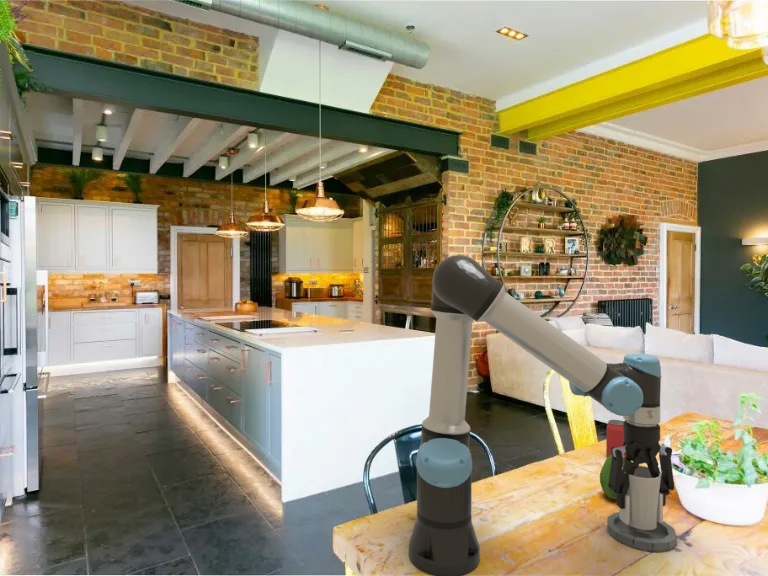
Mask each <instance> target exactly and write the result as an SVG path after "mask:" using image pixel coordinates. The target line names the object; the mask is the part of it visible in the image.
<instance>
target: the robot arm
mask: <svg viewBox="0 0 768 576" xmlns="http://www.w3.org/2000/svg"><path fill="white" fill-rule="evenodd" d="M431 282H432V290H431V292H432V293H431V301H430V302H431V304H430V312H431V313H432V314H433V316H434V317H435V319H436V321H435V331H434V332H435V334H434V347H433V358H432V359H433V360H432V361H433V362H432V373H431V374H432V375H431V385H430V399H429V412H428V417H426V418H425V419H424V420H423V421H422V423H421V432H420V435H421V436H420V444H419V447H418V449H417V453H416V459H415V467H416V521H415V522H414V526H413V529H412V532H411V536H410V539H409V542H408V557H409V560H410V561H411V562H412V564H413V565H414V566H415V567H416V568H418V569H419V570H421V571H423V572H425V573H428V574H431V575H435V576H461V575H464V574H468V573H470V572H472V571H473V570H475V569H476V567H478V565H479V563H480V560H481V556H480V555H481V548H480V544H479V541H478V537H477V534H476V531H475V528H474V524H473V520H472V471H473V460H472V453H471V451H470V439H471V438H470V437H471V426H470V425H469V424H468V422H467V421H466V419H465V418H466V407H467V406H466V405H467V397H468V396H467V394H468V384H469V383H468V382H469V372H470V371H469V370H470V359H471V358H470V357H471V355H470V354H471V346H472V345H471V344H472V333H473V331H472V330H473V322H474V321H475V322H476V323H479V322H485V323H486V324H488V325H489V326H490V327H491V328H493V329H495V330H496V331H498V332H499V333H500V334H502V335H503V336H505V337H506V338H507V339H509V340H510V341H512V343H515V344H516V345H517V346H519V347H520V348H521V349H523V350H524V351H526V352H527V353H528V354H530V355H531V356H533V357H534V358H536V359H537V360H539V361H540V362H541V363H542V364H544V365H545V366H547V367H549V368H550V369H551V370H553V371H554V372H556V373H557V374H558V375H559V376H561V377H562V378H564V379H565V380H567V381H568V384H569V389H570V391H571V393H572V395H574V396H582V397H585V398H586V397H590V398H591V399H592V400H594V401H596V402H597V403H599V405H601V406H602V407H604V408H605V409H606V410H607V411H609V413H612V414H615V415H617V416H620V417H622V418H623V421H624V422H623V435H624V443H623V446H622V447H618V448H615V447H611V454H612V461H611V468H610V476H609V483H608V488H609V489H610V490H612V491H613V492H614V493H616V494H617V500H615V501H616V506H617V507H618V508H619V511H618V512H619V519H620V520H622V521H623V522H624V523H625V524H626V525H627V524H629V518H630V496H629V495H627V494H626V493H627V491H628V488H629V485H630V482H629V474H630V475H634V472H635V469H636V468H638V466H639V465H641V464H646V467H648V469H649V471H650V474H651V476H652V477H653V478H656V477H658V476H659V473H661V481H660V489H659V496H658V507H657V518H656V520H657V521H658V522H663V521H664V514H663V513H664V507H665V506H666V504H667V502H666V501H667V500H666V499H667V497H666V496H668V495H670V491H673V490H675V479H674V475H673V465H672V455H673V448H672V447H669V446H668V445H666V444H660V441H661V425H659V424H660V423H661V388H662V387H661V385H662V384H661V383H662V382H661V381H662V368H661V361H660V359H659V358H658V357H657V356H655V355H651V354H645V353H627V354H625V355H624V357H623V361H622V362H619V363H608V362H605V361H604V360H603V359H601V358H600V357H598V355H595V354H594V353H593V352H591V351H590V350H588V349H587V348H586V347H584V346H582V344H580V343H578V342H577V341H576V340H574V339H573V338H572V337H570V336H568V335H567V334H566V333H564V332H563V331H562V330H561V329H559V328H557V327H556V326H555V325H553V324H552V323H550V322H548V320H546V319H544V318H543V317H541V316H540V315H539V314H537V312H534V310H532V309H530V308H529V307H528V306H526V305H524V304H523V303H522V302H520V301H519V300H517V299H516V298H514V297H513V296H511V295H510V294H509V293H508V292H507V291H506V289H505V288H506V287H505V285H504V284H503V283H502V282H501V281H499V280H497V278H495V277H494V276H493V275H491V274H490V273H489V272H488V271H487V270H486V269H485V268H484V267H483V266H482V265H481V264H479V263H478V261H476V260H475V259H473V258H472V257H470V256H466V255H464V254H462V255H461V254H457V255H456V254H455V255H451V256H448V257H446V258H444V259H443V260H441V261H440V262H439V264H437V266H436V267H435V269H434V272H433V275H432V281H431ZM624 453H626V457H625V460H624V462H625V464H624V467H623V469H622V466H623V457H624ZM656 456H658V457H659V458H658V459H659V462H658V459H657V457H656ZM659 466H660V467H659ZM624 472H625V473H624Z"/></svg>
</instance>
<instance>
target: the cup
mask: <svg viewBox="0 0 768 576" xmlns="http://www.w3.org/2000/svg"><path fill="white" fill-rule="evenodd" d="M622 469H623V468H622ZM624 473H625V472H624ZM660 481H661V473H659V476H658V477H656V478H653V477H652V476H651V474H650V471H649V469H648V466H647V465H641V464H639V466H638V468H636V469H635V472H634V475H630V474H629V482H630V485H629V488H628V491H627V493H626V494H627V495H629V496H630V518H629V525H630V526H632V527H635V528H638V529H642V530H653V529H655V528H656V527H657V520H656V518H657V507H658V496H659V489H660Z"/></svg>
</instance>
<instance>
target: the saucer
mask: <svg viewBox="0 0 768 576" xmlns="http://www.w3.org/2000/svg"><path fill="white" fill-rule="evenodd" d="M606 524H607V525H606V529H607V533H608V534H609V535H610V536H611V537H612V538H613V539H614V540H615V541H617V543H620V544H622V545H624V546H627V547H630V548H631V549H635V550H639V551H643V552H649V553H664V552H668V551H671V550H673V549H674V548H675V547H676V544H677V542H678V541H677V539H678V538H677V533H676V530H675V528H674V527H673V526H671V525H670V524H668V523H667V522H666V521H665V520H663V522H658V521H657V527H656V528H655V529H653V530H642V529H638V528H635V527H632V526H630V525H629V524H627V525H626V524H625V523H624V522H623V521H622V520H620V519H619V511H615V512H613V513H612V514H610V515H608V516H607V517H606Z"/></svg>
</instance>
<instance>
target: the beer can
mask: <svg viewBox="0 0 768 576" xmlns="http://www.w3.org/2000/svg"><path fill="white" fill-rule="evenodd" d="M624 421H625V420H619V419H610V420H608V422H607V424H606V437H605V439H606V441H605V442H606V445H605V447H606V448H605V449H606V451H605V452H606V453H605V456H606V458H607V457H608V456H610V455H612V454H611V447H615V448H618V447H622V446H623V443H624V435H623V422H624ZM625 457H626V453H624V457H623V459H624V460H625Z"/></svg>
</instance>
